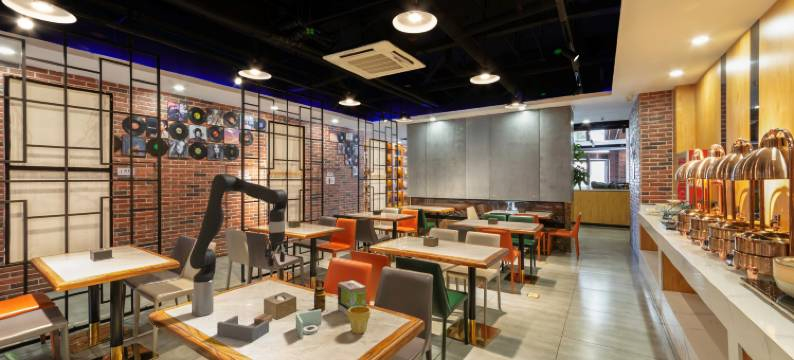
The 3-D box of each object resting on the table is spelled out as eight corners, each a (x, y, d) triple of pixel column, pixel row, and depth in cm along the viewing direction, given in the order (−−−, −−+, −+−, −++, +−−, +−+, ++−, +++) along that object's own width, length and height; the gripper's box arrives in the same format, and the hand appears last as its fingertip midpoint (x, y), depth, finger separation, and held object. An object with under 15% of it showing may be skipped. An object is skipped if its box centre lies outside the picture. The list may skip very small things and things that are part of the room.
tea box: (366, 314, 181) (367, 286, 181) (349, 318, 175) (349, 289, 175) (353, 305, 193) (353, 279, 193) (337, 309, 187) (337, 282, 187)
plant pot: (369, 325, 167) (369, 305, 167) (371, 334, 157) (371, 313, 157) (347, 326, 165) (347, 306, 165) (348, 336, 155) (348, 314, 155)
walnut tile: (254, 324, 168) (254, 318, 168) (262, 319, 174) (262, 313, 174) (264, 326, 166) (264, 320, 166) (272, 321, 172) (272, 315, 172)
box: (217, 336, 155) (217, 322, 155) (235, 326, 165) (235, 313, 165) (252, 342, 149) (252, 328, 149) (269, 331, 159) (269, 318, 159)
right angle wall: (301, 339, 153) (301, 322, 153) (295, 329, 163) (295, 313, 163) (327, 334, 158) (327, 317, 158) (320, 324, 169) (320, 309, 169)
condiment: (328, 311, 185) (328, 288, 185) (312, 314, 180) (312, 291, 180) (322, 306, 191) (323, 285, 191) (308, 310, 186) (308, 287, 186)
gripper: (279, 228, 176) (279, 260, 176) (260, 232, 162) (260, 266, 162) (292, 229, 173) (292, 261, 173) (274, 233, 160) (273, 268, 160)
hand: (276, 263), depth 168 cm, fingers open, 8 cm apart
